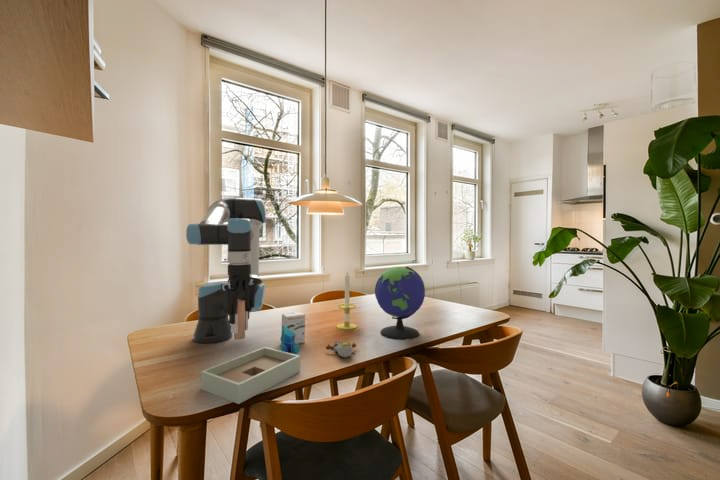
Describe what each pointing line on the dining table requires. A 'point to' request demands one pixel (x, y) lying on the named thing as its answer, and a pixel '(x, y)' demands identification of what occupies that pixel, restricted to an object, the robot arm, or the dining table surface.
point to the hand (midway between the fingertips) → (239, 330)
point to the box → (249, 374)
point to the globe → (400, 299)
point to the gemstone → (288, 341)
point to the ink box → (295, 325)
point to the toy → (342, 348)
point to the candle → (347, 308)
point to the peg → (240, 320)
